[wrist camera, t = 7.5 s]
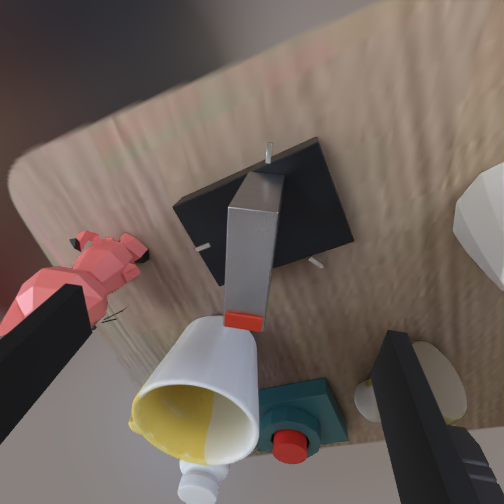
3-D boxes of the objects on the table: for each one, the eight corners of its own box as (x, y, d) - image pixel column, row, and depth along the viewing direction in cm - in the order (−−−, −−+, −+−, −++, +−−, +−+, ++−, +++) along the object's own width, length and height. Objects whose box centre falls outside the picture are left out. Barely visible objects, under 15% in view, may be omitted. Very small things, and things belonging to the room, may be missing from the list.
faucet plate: (309, 118, 23) (311, 121, 21) (355, 242, 27) (360, 257, 25) (173, 183, 27) (160, 192, 24) (230, 283, 31) (224, 300, 28)
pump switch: (325, 377, 35) (328, 410, 31) (346, 422, 38) (350, 457, 34) (236, 393, 38) (229, 425, 34) (262, 434, 41) (258, 467, 38)
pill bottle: (198, 420, 41) (172, 507, 33) (195, 392, 39) (166, 479, 30) (239, 425, 41) (223, 515, 32) (239, 398, 38) (221, 487, 30)
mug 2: (330, 381, 35) (357, 428, 25) (388, 315, 35) (439, 336, 25) (381, 427, 35) (430, 494, 25) (440, 361, 35) (512, 401, 25)
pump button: (300, 425, 33) (300, 441, 32) (311, 445, 35) (311, 462, 33) (268, 429, 35) (267, 445, 33) (280, 449, 36) (280, 465, 34)
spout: (249, 171, 23) (226, 208, 16) (285, 175, 22) (278, 214, 16) (241, 266, 26) (221, 328, 20) (272, 270, 26) (263, 335, 19)
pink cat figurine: (107, 282, 33) (15, 376, 22) (73, 222, 30) (-50, 298, 19) (168, 271, 31) (100, 368, 20) (139, 206, 28) (42, 280, 18)
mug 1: (248, 285, 30) (225, 372, 21) (284, 360, 34) (277, 461, 25) (133, 316, 34) (72, 401, 25) (177, 380, 38) (138, 473, 29)
